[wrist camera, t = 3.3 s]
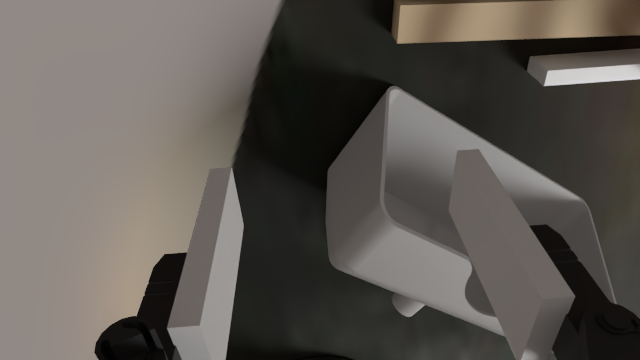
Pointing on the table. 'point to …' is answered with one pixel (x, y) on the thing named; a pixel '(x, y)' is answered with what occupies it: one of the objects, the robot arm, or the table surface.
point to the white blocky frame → (585, 67)
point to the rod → (512, 19)
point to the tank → (433, 210)
